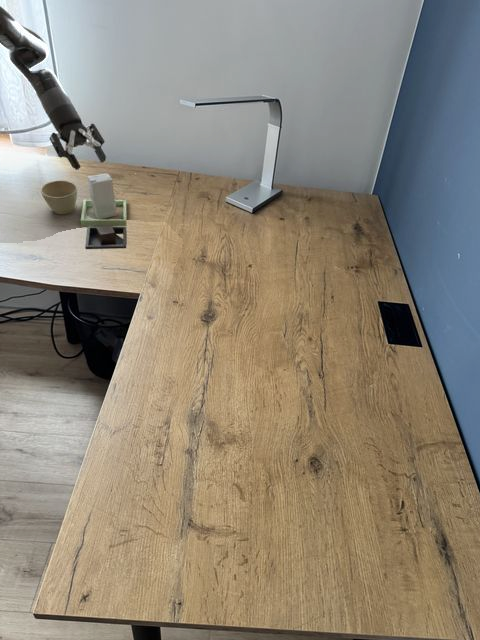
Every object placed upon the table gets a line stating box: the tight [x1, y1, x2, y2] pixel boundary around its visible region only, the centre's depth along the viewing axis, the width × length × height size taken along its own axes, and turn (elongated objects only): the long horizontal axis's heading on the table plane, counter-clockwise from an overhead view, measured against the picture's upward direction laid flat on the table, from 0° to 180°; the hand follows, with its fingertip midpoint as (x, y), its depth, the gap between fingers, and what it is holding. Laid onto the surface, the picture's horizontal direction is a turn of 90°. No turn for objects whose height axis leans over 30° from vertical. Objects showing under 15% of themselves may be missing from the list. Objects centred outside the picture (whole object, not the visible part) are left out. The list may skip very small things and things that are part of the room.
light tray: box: [80, 199, 128, 228], centre depth 150 cm, size 13×13×3 cm
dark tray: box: [84, 226, 128, 250], centre depth 140 cm, size 11×11×3 cm
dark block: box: [97, 226, 116, 245], centre depth 139 cm, size 4×4×4 cm
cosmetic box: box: [87, 172, 118, 219], centre depth 147 cm, size 6×4×12 cm
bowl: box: [40, 180, 78, 215], centre depth 149 cm, size 10×10×7 cm
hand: (91, 164), depth 142 cm, fingers open, 8 cm apart
